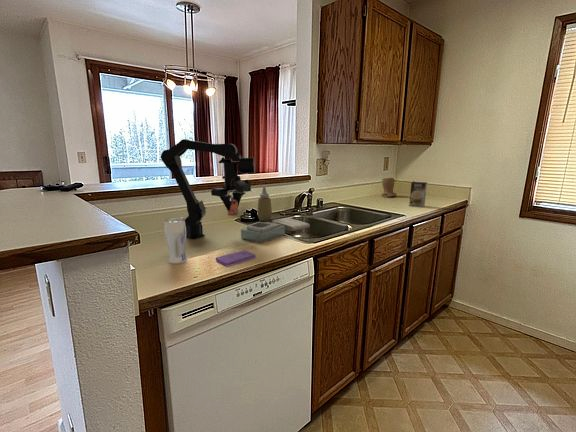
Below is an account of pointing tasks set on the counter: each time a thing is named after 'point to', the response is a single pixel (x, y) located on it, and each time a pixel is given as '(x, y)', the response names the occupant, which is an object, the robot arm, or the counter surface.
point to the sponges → (235, 257)
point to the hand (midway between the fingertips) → (232, 209)
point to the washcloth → (291, 224)
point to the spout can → (233, 207)
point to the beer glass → (176, 239)
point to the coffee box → (418, 194)
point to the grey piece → (262, 231)
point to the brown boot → (388, 187)
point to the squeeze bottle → (264, 206)
